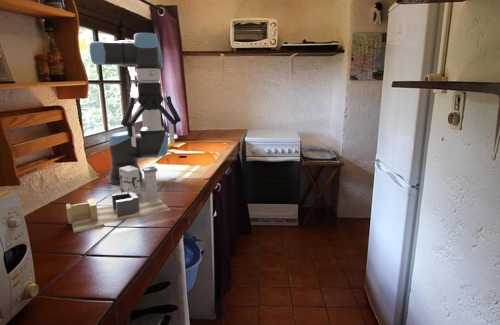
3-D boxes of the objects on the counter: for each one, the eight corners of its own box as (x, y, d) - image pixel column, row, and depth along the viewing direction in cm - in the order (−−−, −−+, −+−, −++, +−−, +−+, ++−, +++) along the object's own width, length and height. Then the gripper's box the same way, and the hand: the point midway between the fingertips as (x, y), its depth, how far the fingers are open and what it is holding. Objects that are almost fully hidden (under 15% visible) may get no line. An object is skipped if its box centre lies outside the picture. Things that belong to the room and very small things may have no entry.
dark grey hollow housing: (113, 208, 126) (111, 194, 125) (134, 204, 130) (132, 190, 129) (118, 217, 118) (116, 202, 117) (140, 212, 122) (139, 198, 121)
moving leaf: (67, 217, 118) (65, 202, 116) (94, 212, 122) (93, 198, 121) (69, 225, 111) (67, 210, 110) (98, 219, 116) (96, 204, 114)
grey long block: (144, 199, 135) (141, 167, 132) (156, 197, 138) (153, 166, 134) (147, 202, 131) (145, 170, 128) (159, 200, 134) (157, 168, 131)
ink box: (120, 194, 145) (117, 167, 142) (131, 191, 148) (128, 165, 146) (130, 198, 139) (128, 171, 136) (141, 195, 143) (139, 168, 140)
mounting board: (69, 216, 122) (69, 213, 122) (158, 199, 138) (157, 197, 138) (73, 232, 109) (73, 229, 108) (171, 212, 125) (170, 209, 124)
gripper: (112, 82, 105) (119, 149, 110) (188, 81, 118) (190, 141, 123) (107, 82, 111) (114, 146, 116) (179, 81, 124) (182, 138, 129)
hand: (153, 144), depth 120 cm, fingers open, 13 cm apart
